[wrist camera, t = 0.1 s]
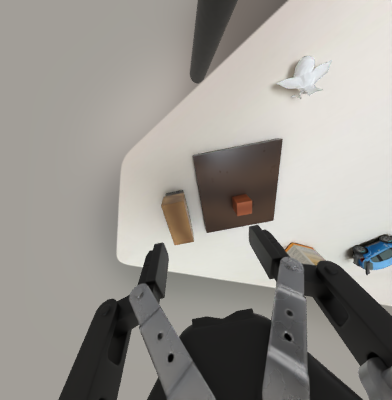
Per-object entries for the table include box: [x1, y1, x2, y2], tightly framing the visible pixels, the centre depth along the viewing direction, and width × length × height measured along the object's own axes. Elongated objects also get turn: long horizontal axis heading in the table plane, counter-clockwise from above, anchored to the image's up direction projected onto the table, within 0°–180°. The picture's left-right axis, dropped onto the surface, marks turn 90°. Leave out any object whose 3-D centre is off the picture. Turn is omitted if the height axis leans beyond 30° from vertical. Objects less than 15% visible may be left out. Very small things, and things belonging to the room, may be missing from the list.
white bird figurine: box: [277, 56, 332, 99], centre depth 20 cm, size 8×5×5 cm, turn 110°
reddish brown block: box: [232, 194, 252, 216], centre depth 28 cm, size 3×3×3 cm
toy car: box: [353, 235, 392, 275], centre depth 40 cm, size 6×12×6 cm, turn 121°
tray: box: [193, 138, 282, 233], centre depth 29 cm, size 18×16×1 cm
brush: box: [161, 190, 194, 245], centre depth 29 cm, size 4×10×6 cm, turn 10°
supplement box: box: [285, 243, 326, 265], centre depth 35 cm, size 8×5×13 cm, turn 69°
